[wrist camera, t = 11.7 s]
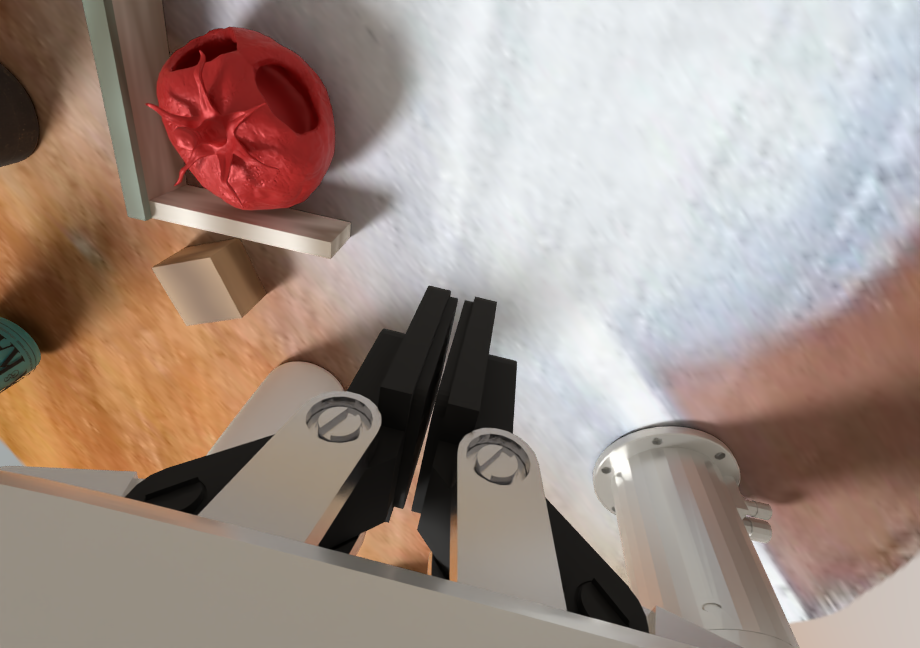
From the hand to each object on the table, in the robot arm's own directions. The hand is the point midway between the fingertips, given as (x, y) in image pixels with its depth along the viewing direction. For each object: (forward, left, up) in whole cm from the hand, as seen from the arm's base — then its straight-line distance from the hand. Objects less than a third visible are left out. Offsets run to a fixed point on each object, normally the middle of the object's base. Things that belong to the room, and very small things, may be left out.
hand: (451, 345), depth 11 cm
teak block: (+19, +13, -22) cm, 32 cm away
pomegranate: (+15, +1, -22) cm, 27 cm away
